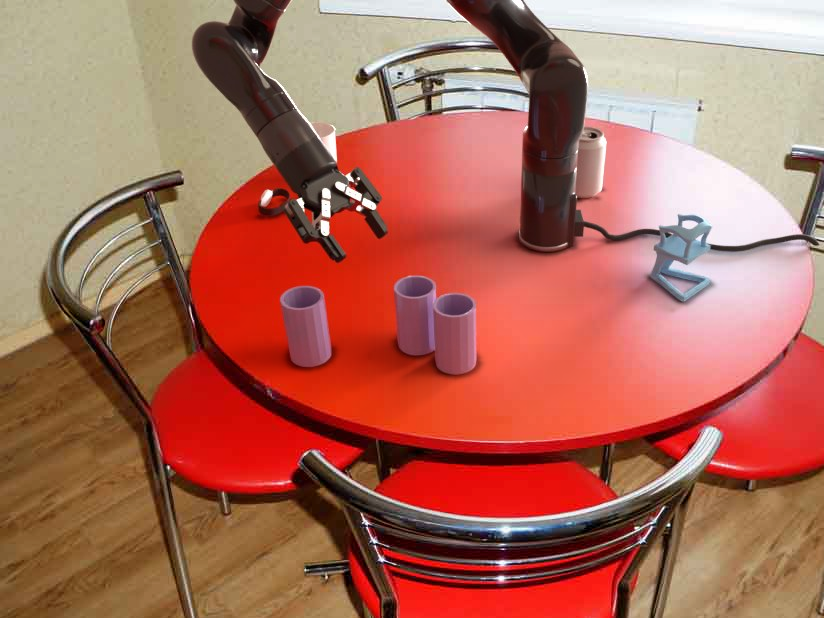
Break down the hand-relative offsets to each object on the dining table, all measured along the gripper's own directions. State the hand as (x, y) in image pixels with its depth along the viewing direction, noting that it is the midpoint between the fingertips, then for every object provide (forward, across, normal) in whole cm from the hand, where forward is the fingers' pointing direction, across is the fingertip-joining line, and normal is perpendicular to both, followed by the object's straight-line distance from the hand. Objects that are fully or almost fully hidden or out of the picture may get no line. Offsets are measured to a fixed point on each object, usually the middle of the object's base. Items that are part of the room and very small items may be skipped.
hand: (363, 247), depth 122 cm
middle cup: (+16, 0, +3) cm, 16 cm away
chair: (+32, +38, -13) cm, 52 cm away
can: (+11, +57, +8) cm, 58 cm away
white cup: (-20, +29, +38) cm, 52 cm away
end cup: (+8, -11, +10) cm, 17 cm away
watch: (-18, +15, +37) cm, 44 cm away
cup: (+21, 0, -2) cm, 21 cm away
